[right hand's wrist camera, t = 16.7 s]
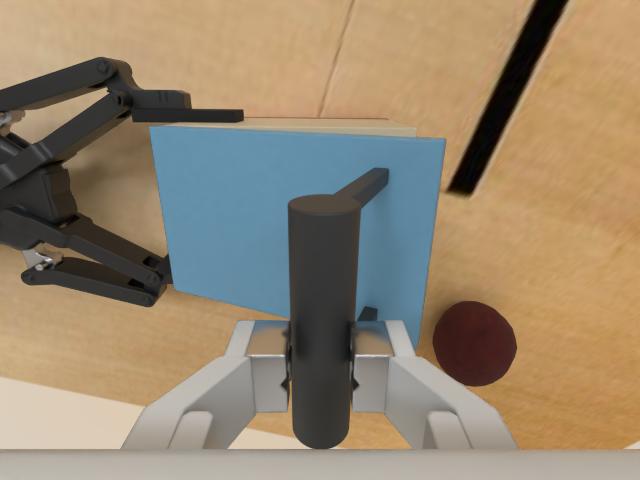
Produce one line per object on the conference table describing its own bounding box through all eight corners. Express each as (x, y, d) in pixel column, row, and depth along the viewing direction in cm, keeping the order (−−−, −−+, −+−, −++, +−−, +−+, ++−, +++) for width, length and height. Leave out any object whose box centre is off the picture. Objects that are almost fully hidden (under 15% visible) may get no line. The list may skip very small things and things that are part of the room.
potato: (427, 356, 39) (450, 409, 32) (420, 295, 36) (443, 338, 29) (496, 345, 38) (533, 396, 32) (494, 281, 35) (535, 323, 29)
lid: (446, 138, 15) (416, 176, 7) (419, 337, 19) (380, 500, 11) (164, 125, 20) (-24, 139, 13) (186, 282, 24) (51, 367, 16)
